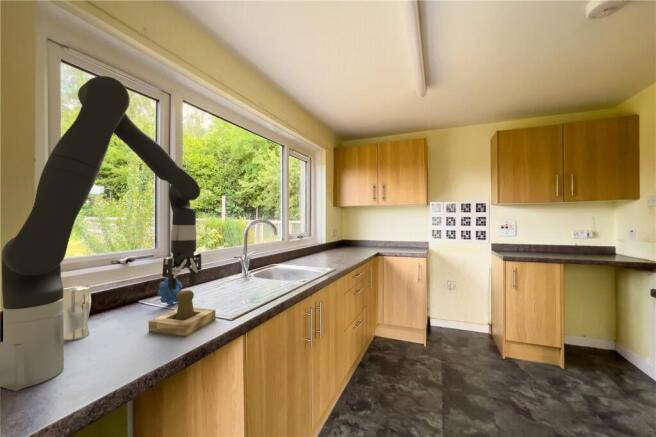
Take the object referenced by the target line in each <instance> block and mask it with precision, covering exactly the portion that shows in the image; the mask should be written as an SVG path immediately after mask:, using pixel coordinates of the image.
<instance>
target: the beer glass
mask: <svg viewBox="0 0 656 437" xmlns="http://www.w3.org/2000/svg"><path fill="white" fill-rule="evenodd" d="M91 305H92V293H91V285H76V286H70V287H65V288H63V306H64V310H63V313H64V342H73V341H77V340H80V339H81V340H82V339H84V338H86V337H88V336H90V329H89V325H88V322H89V315H90V311H91Z"/></svg>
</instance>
